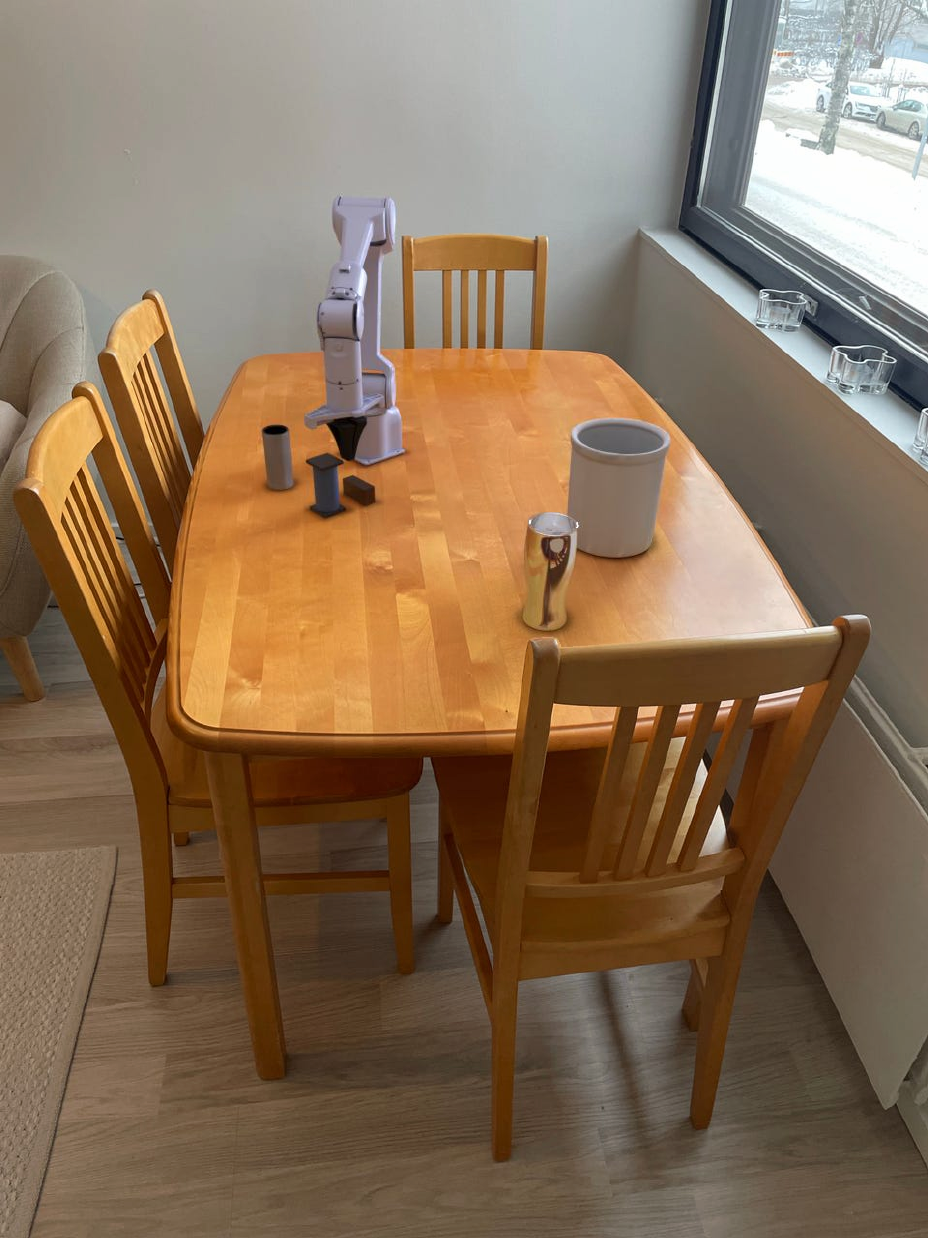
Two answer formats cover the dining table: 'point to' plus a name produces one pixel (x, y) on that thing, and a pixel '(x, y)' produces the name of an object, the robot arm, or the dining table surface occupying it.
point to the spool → (326, 485)
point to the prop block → (359, 490)
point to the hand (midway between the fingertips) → (347, 458)
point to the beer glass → (549, 568)
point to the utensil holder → (616, 484)
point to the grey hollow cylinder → (278, 457)
